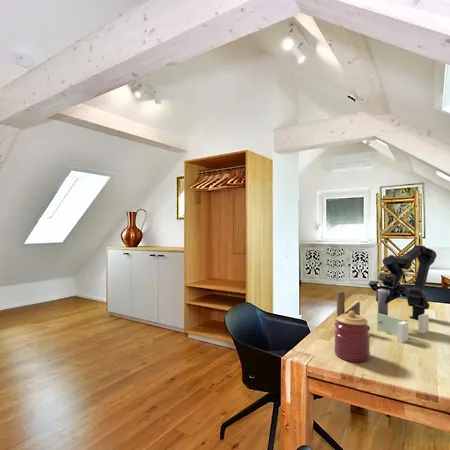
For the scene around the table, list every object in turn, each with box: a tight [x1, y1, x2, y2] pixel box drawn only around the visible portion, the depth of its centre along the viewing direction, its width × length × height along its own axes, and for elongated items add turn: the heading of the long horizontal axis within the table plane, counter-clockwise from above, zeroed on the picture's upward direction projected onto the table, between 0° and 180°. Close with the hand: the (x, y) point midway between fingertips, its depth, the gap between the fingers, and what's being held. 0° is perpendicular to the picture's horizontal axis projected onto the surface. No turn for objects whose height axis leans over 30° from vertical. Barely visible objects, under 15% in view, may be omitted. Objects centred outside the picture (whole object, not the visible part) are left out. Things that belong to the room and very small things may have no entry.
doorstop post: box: [377, 289, 389, 316], centre depth 151 cm, size 4×4×13 cm
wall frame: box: [397, 313, 430, 344], centre depth 141 cm, size 26×2×8 cm, turn 125°
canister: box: [333, 311, 371, 363], centre depth 120 cm, size 13×13×18 cm
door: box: [376, 312, 408, 337], centre depth 143 cm, size 14×3×8 cm, turn 33°
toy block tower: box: [334, 290, 361, 328], centre depth 150 cm, size 4×11×18 cm, turn 46°
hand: (381, 302), depth 150 cm, fingers closed on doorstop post, 4 cm apart
